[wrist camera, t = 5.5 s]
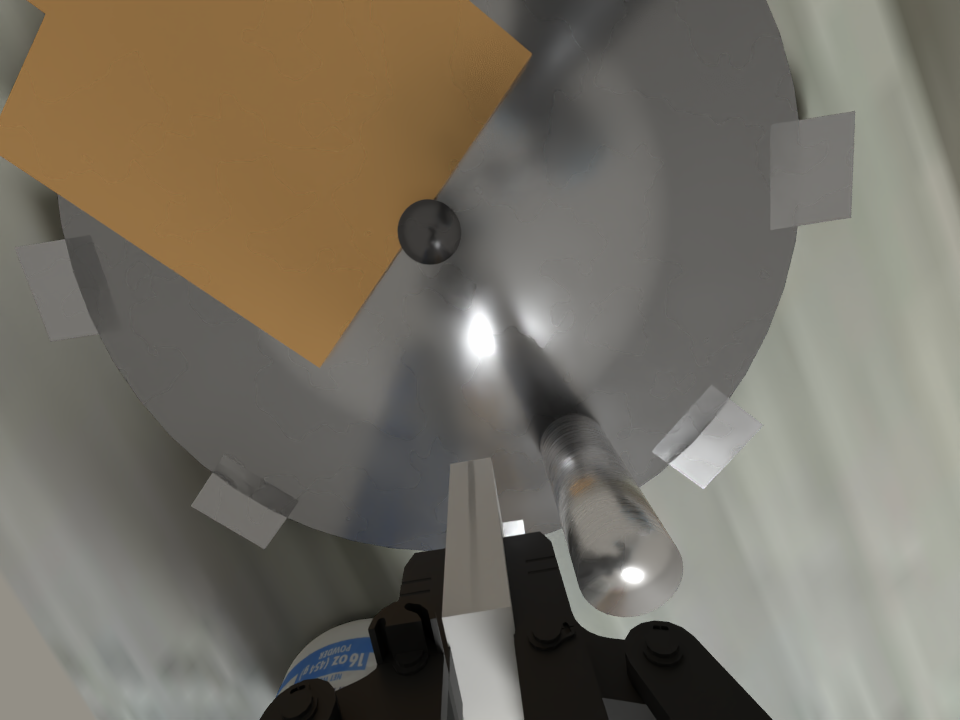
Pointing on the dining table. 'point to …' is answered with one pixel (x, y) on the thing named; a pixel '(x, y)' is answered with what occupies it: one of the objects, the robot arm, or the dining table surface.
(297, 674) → the supplement tub
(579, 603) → the dining table surface
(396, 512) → the sprocket
